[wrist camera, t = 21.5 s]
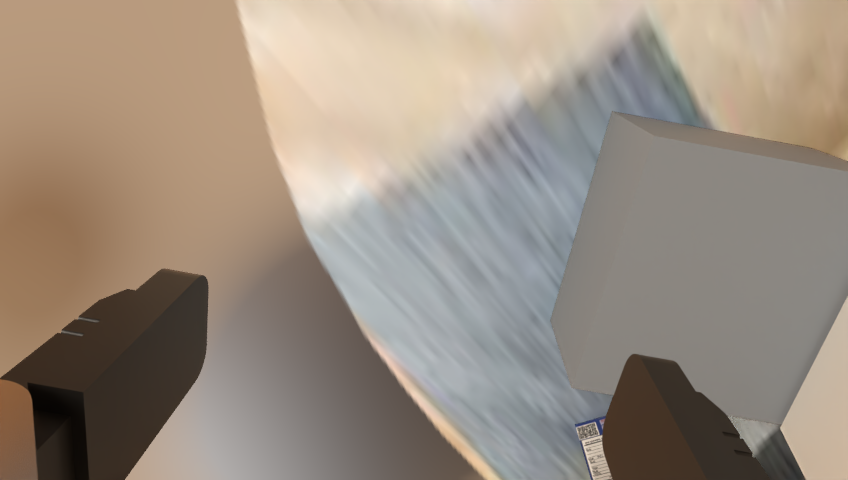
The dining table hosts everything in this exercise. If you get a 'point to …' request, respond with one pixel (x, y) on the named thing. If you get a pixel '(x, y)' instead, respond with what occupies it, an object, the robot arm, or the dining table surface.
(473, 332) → the dining table surface
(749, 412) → the carton
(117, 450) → the robot arm
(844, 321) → the lid flap
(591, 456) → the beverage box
